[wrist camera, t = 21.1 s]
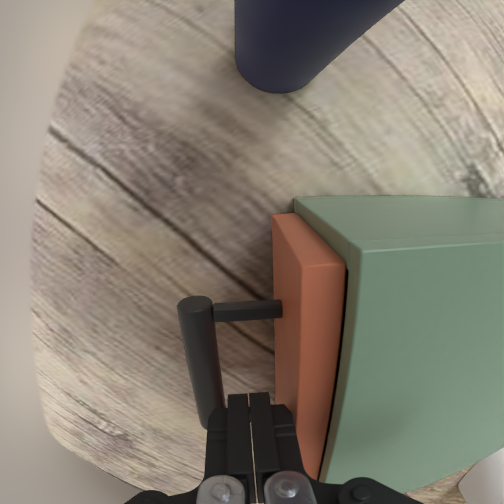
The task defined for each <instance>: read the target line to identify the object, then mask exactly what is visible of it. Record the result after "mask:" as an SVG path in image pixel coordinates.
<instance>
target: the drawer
mask: <svg viewBox="0 0 504 504" xmlns="http://www.w3.org/2000/svg"><path fill="white" fill-rule="evenodd" d="M272 244H273V280H274V300H262V301H246V302H230V303H214V304H212V301H211V299H210V298H208V297H205V296H190V297H186V298H184V299H182V300H180V301H179V302H178V305H177V310H178V316H179V321H180V327H181V333H182V338H183V344H184V349H185V354H186V359H187V364H188V369H189V374H190V379H191V383H192V388H193V393H194V397H195V401H196V406H197V410H198V414H199V419H200V423H201V425H202V427H203V428H205V429H206V430H207V426H208V418H209V416H210V415H211V413H212V411H213V410H214V408H226V404H225V397H224V391H223V384H222V376H221V369H220V362H219V354H218V346H217V338H216V330H215V322H230V321H247V320H262V319H274V327H275V405H276V404H285V405H286V407H287V408H288V409H289V410H290V411H291V412H292V416H293V420H294V426H295V429H296V435H297V439H298V443H299V448H300V452H301V457H302V462H303V466H304V469H305V471H306V473H307V474H308V475H309V476H310V477H311V478H313V479H314V480H316V481H317V478H318V474H319V469H320V464H321V460H322V455H323V450H324V444H325V439H326V437H327V440H328V435H329V430H330V425H331V419H332V413H333V407H334V401H335V395H336V388H337V382H338V375H339V367H340V360H341V352H342V343H343V334H344V325H345V315H346V303H347V291H348V277H349V270H348V269H347V268H346V263H345V261H344V260H343V259H342V258H341V257H340V256H339V255H338V254H337V253H336V252H335V251H334V250H333V249H332V248H331V247H330V246H329V245H328V244H327V243H326V242H325V241H324V240H323V239H322V238H321V237H320V236H319V235H318V234H317V233H316V232H315V231H314V230H313V229H312V228H311V227H310V226H309V224H308V223H307V222H306V221H305V220H304V219H303V218H301V217H300V216H299V215H298V214H297V213H287V214H272ZM249 417H250V422H251V413H250V407H249Z"/></svg>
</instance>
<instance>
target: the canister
mask: <svg viewBox="0 0 504 504" xmlns="http://www.w3.org/2000/svg"><path fill="white" fill-rule="evenodd" d="M458 488H459V490H460V492H461V494H462V496H463V498H464V499H465V501H466V503H467V504H504V448H502V449H500V450H499V451H497V452H495V453H493V454H492V455H490V456H488V457H486V458H484V459H482V460H480V461H479V462H478V463H477V464H476V465H474V466H473V467H472V468H471V469H470V470H469V471H468V472H467V474H466V475H465V476H464V477H463V478H462V479H461V481H460V482H459V484H458Z"/></svg>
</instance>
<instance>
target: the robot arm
mask: <svg viewBox="0 0 504 504" xmlns="http://www.w3.org/2000/svg"><path fill="white" fill-rule="evenodd" d="M249 400H250V413H251V426H252V439H253V451H254V464H255V475H256V486H257V497H258V503H264V504H423V503H421V502H419V501H417V500H414V499H412V498H410V497H408V496H406V495H404V494H402V493H400V492H397V491H395V490H393V489H391V488H389V487H387V486H385V485H383V484H382V483H380V482H378V481H376V480H374V479H371V478H368V477H356V478H353V479H350V480H348V481H347V482H345V483H344V484H331V483H322V482H319V481H316V480H314V479H313V478H311V477H310V476H309V475H308V474H307V473H306V471H305V469H304V466H303V462H302V457H301V452H300V448H299V443H298V439H297V435H296V429H295V426H294V420H293V416H292V412H291V411H290V410H289V409H288V408H287V407H286V405H285V404H276V405H271V404H270V397H269V392H258V393H249ZM255 503H256V494H255V482H254V469H253V456H252V443H251V430H250V417H249V406H248V394H247V393H245V394H228V408H214V410H213V411H212V413H211V415H210V416H209V418H208V426H207V441H206V458H205V474H204V478H203V480H202V482H201V483H200V485H199V486H198V487H196V488H195V489H193V490H192V491H189V492H186V493H182V494H178V495H173V496H167V495H166V494H164V493H162V492H160V491H155V490H148V491H143V492H140V493H139V494H137V495H136V496H134V497H133V498H131V499H130V500H129V501H127V502H126V503H124V504H255Z"/></svg>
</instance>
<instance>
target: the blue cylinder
mask: <svg viewBox="0 0 504 504" xmlns="http://www.w3.org/2000/svg"><path fill="white" fill-rule="evenodd" d="M403 1H405V0H235V62H236V65H237V68H238V70H239V72H240V73H241V75H242V76H243V77H244V79H245V80H246V81H247V82H249V83H250V84H251V85H253V86H254V87H256V88H258V89H260V90H262V91H265V92H269V93H277V94H282V93H290V92H293V91H296V90H298V89H301V88H302V87H304V86H305V85H306V84H308V83H309V82H310V81H311V80H312V79H313V78H314V77H315V76H316V75H317V74H318V73H319V72H321V71H322V70H323V69H324V68H325V67H326V66H327V65H328V64H329V63H330V62H332V61H333V60H334V59H335V58H336V57H337V56H338V55H339V54H341V53H342V52H343V51H344V50H345V49H346V48H347V47H348V46H350V45H351V44H352V43H353V42H354V41H355V40H357V39H358V38H359V37H360V36H361V35H362V34H364V33H365V32H366V31H367V30H368V29H370V28H371V27H372V26H373V25H374V24H376V23H377V22H378V21H379V20H381V19H382V18H383V17H384V16H386V15H387V14H388V13H389V12H391V11H392V10H393V9H394V8H396V7H397V6H398V5H399V4H401V3H402V2H403Z"/></svg>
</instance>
